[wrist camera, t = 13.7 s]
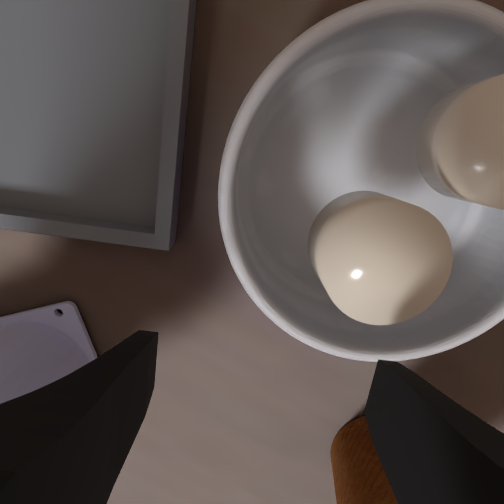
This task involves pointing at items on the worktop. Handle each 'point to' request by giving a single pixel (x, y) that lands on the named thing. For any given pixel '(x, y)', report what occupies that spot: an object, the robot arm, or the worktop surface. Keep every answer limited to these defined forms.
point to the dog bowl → (360, 168)
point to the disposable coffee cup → (358, 467)
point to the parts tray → (94, 117)
